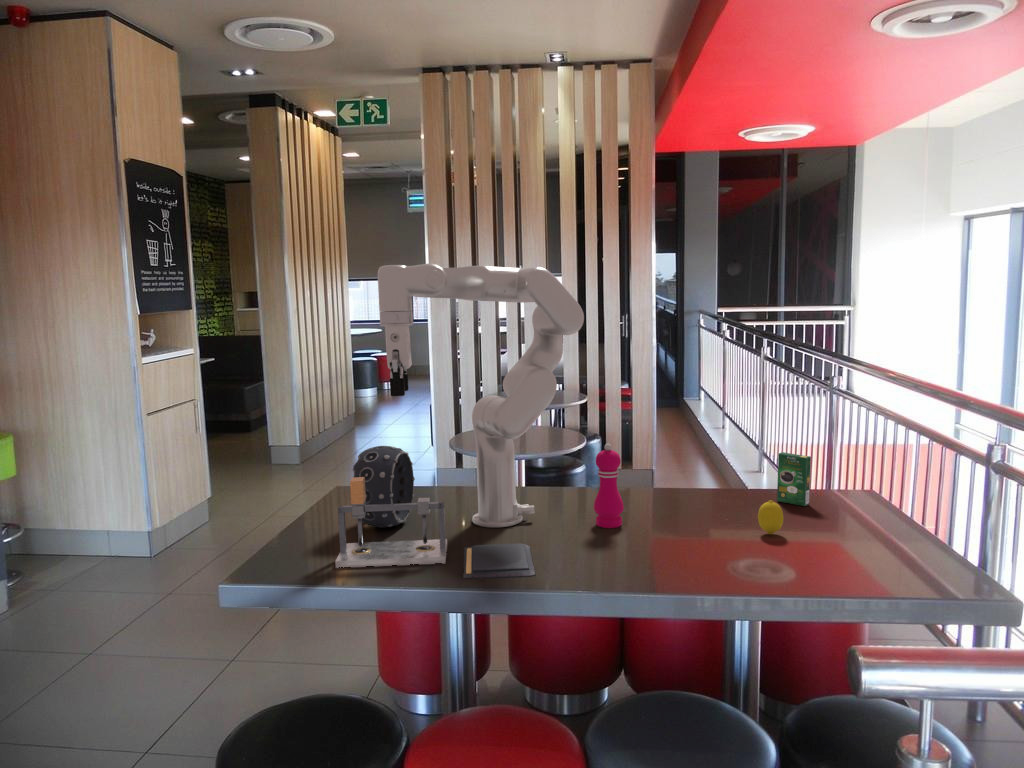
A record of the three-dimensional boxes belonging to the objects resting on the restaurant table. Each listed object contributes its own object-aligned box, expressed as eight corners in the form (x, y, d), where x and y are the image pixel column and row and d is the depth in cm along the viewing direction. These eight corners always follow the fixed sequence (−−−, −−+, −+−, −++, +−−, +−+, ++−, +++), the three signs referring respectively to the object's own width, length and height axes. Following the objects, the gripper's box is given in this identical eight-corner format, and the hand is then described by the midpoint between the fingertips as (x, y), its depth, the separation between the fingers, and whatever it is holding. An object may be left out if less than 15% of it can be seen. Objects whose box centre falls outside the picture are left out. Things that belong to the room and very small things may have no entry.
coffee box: (811, 504, 199) (811, 455, 197) (806, 507, 197) (806, 457, 195) (781, 499, 205) (782, 451, 203) (776, 501, 203) (777, 453, 201)
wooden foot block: (368, 543, 168) (364, 477, 167) (365, 548, 165) (362, 480, 163) (356, 544, 168) (352, 477, 167) (353, 549, 165) (350, 481, 163)
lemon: (787, 533, 175) (787, 499, 174) (776, 539, 171) (777, 504, 170) (764, 529, 179) (764, 496, 178) (753, 535, 175) (753, 501, 174)
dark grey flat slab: (535, 570, 152) (459, 573, 152) (536, 580, 152) (459, 582, 152) (531, 539, 172) (464, 541, 172) (531, 548, 172) (464, 550, 172)
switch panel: (447, 545, 174) (445, 492, 172) (445, 563, 162) (443, 506, 160) (345, 549, 172) (342, 496, 171) (335, 568, 161) (332, 510, 159)
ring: (418, 515, 200) (415, 439, 197) (392, 538, 180) (388, 455, 178) (379, 514, 201) (375, 439, 199) (349, 537, 182) (345, 454, 180)
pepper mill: (590, 527, 184) (589, 445, 182) (598, 519, 191) (597, 440, 189) (619, 530, 182) (618, 447, 180) (627, 521, 188) (626, 441, 186)
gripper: (409, 319, 167) (413, 397, 169) (415, 318, 184) (418, 388, 186) (375, 320, 167) (379, 398, 169) (384, 319, 184) (387, 389, 186)
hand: (399, 393), depth 177 cm, fingers open, 9 cm apart
